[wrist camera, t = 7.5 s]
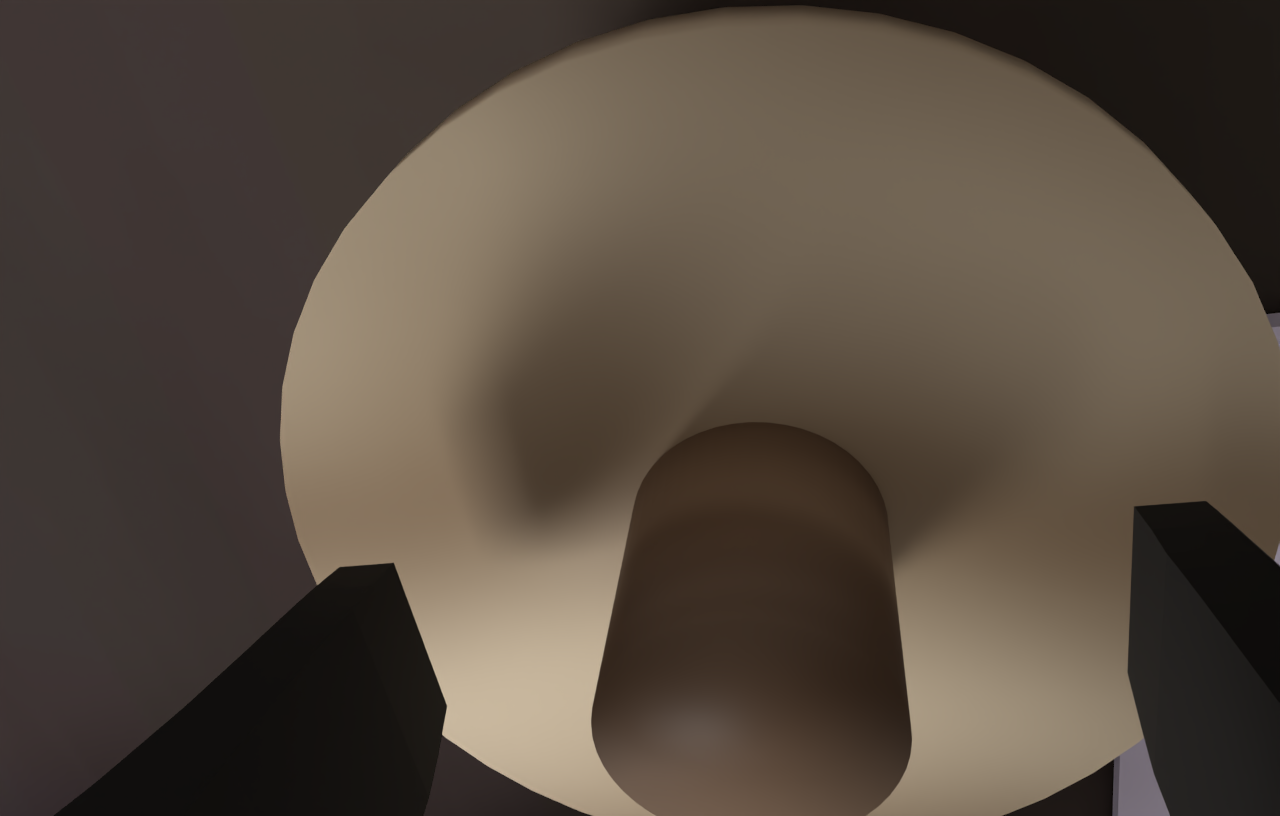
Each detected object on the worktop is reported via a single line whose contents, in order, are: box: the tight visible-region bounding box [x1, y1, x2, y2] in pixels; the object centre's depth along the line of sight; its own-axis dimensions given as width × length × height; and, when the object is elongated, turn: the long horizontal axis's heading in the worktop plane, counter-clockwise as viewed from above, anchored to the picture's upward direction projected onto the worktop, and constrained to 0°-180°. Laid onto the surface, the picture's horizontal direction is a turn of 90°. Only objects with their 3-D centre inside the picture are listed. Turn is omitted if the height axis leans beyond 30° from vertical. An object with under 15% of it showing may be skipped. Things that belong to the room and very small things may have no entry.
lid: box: [280, 5, 1280, 816], centre depth 12 cm, size 11×11×5 cm
